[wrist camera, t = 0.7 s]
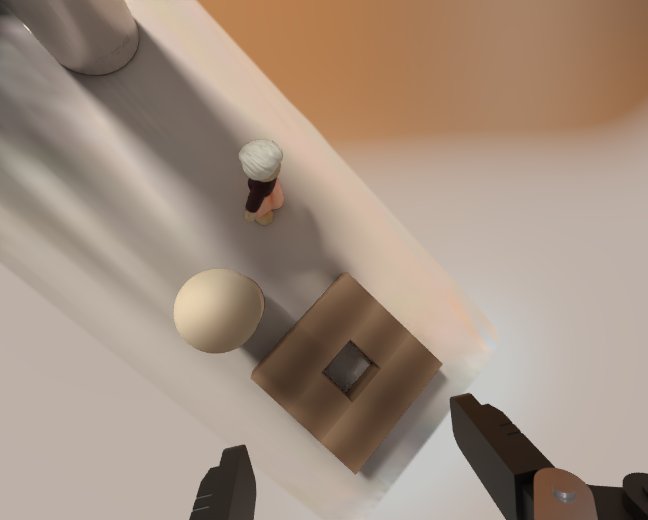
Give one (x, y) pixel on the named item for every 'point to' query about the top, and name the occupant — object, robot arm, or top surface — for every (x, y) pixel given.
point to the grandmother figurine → (262, 179)
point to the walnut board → (367, 392)
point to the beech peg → (218, 310)
